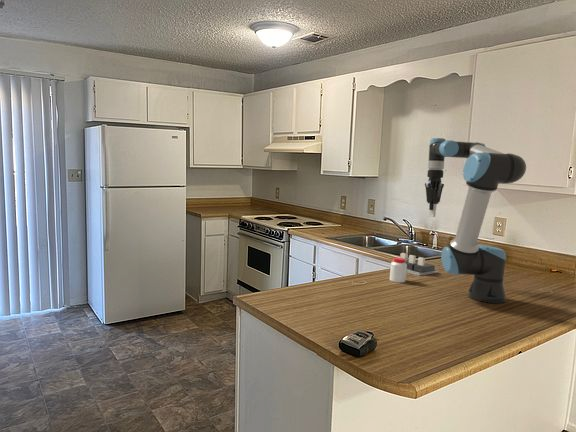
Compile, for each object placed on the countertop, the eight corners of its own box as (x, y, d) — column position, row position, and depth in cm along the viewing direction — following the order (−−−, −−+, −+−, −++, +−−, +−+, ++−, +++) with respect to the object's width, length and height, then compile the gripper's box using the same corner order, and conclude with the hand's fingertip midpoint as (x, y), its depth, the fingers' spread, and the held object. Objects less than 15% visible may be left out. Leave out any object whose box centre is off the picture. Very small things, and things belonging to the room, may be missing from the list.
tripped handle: (406, 260, 241) (407, 253, 241) (404, 261, 240) (404, 253, 240) (402, 259, 244) (402, 252, 243) (400, 260, 243) (400, 252, 242)
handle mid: (415, 263, 237) (415, 256, 236) (413, 263, 235) (413, 256, 235) (410, 262, 239) (411, 254, 238) (408, 262, 238) (409, 255, 237)
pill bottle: (404, 279, 219) (406, 257, 218) (406, 283, 212) (408, 260, 210) (388, 277, 220) (390, 256, 219) (390, 281, 212) (392, 259, 211)
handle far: (424, 265, 232) (425, 258, 231) (422, 266, 231) (422, 258, 230) (419, 264, 234) (420, 257, 234) (417, 264, 233) (418, 257, 233)
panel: (437, 272, 237) (438, 265, 236) (418, 275, 228) (419, 267, 227) (410, 265, 251) (411, 258, 251) (392, 268, 242) (392, 260, 242)
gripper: (437, 170, 226) (433, 215, 228) (421, 168, 218) (417, 216, 220) (450, 170, 220) (446, 217, 222) (434, 169, 212) (430, 217, 214)
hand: (432, 216), depth 221 cm, fingers closed
